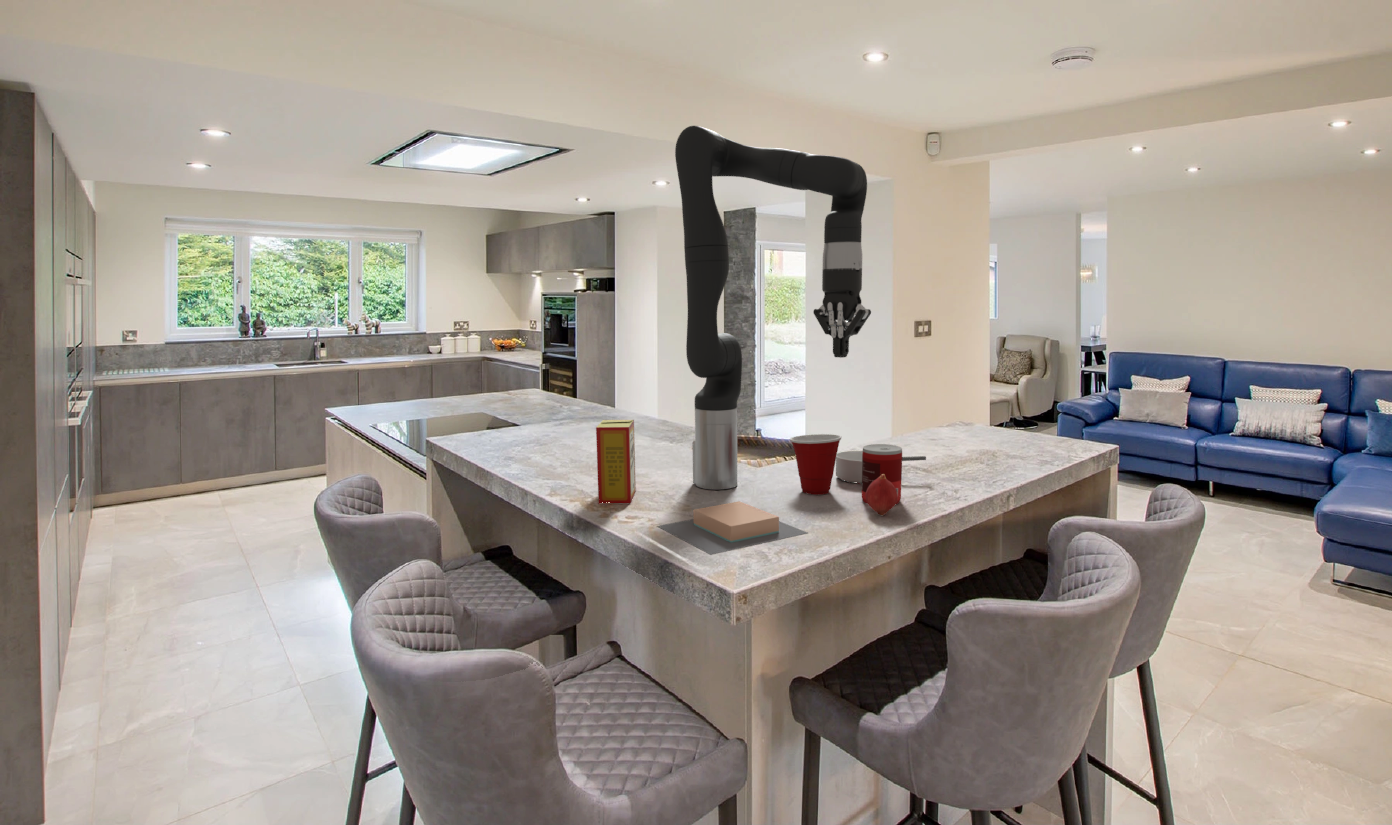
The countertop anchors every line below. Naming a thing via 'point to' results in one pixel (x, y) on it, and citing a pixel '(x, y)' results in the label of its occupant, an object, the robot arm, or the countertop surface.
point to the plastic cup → (816, 461)
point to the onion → (881, 495)
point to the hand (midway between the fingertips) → (840, 357)
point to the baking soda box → (616, 461)
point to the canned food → (881, 466)
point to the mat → (717, 544)
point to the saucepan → (856, 465)
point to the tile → (736, 521)
